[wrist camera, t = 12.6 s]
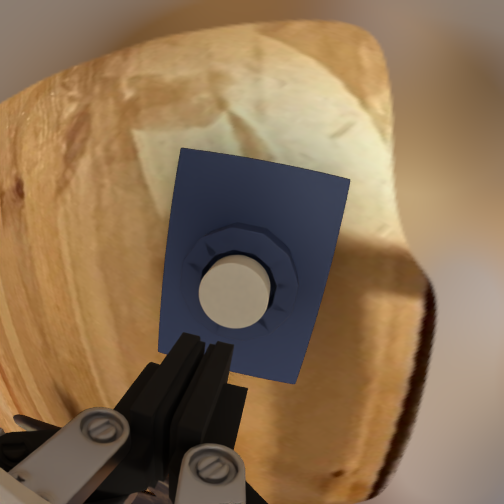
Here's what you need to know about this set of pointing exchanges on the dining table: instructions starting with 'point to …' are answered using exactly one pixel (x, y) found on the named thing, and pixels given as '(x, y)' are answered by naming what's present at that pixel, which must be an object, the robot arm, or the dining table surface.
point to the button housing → (251, 253)
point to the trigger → (235, 291)
